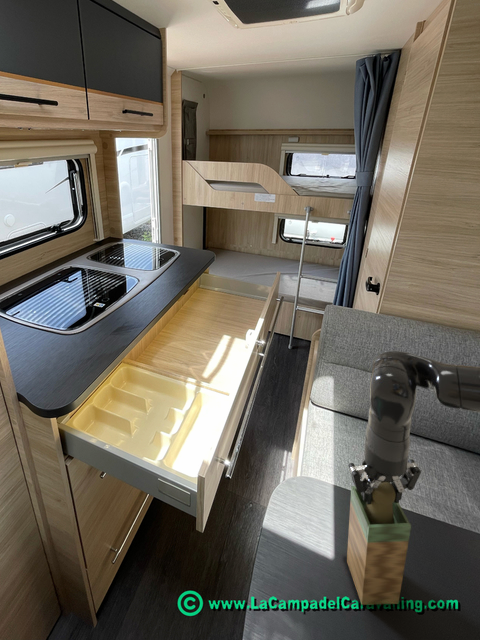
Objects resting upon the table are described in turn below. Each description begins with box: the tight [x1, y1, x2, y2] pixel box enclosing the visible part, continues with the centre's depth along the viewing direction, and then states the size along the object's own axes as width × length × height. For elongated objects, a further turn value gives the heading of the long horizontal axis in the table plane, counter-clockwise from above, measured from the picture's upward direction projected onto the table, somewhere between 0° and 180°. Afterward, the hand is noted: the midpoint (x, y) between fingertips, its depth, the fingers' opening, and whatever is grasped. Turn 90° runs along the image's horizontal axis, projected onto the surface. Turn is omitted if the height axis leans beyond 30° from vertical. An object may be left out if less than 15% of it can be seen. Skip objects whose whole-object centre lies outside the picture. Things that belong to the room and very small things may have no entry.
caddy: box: [346, 485, 412, 606], centre depth 77 cm, size 9×9×30 cm
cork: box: [364, 482, 396, 525], centre depth 71 cm, size 6×6×11 cm
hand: (380, 499), depth 71 cm, fingers closed on cork, 5 cm apart
